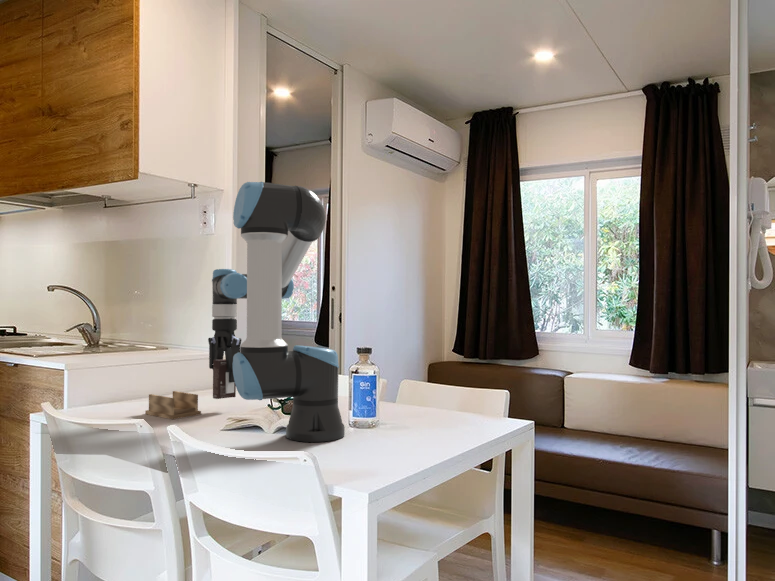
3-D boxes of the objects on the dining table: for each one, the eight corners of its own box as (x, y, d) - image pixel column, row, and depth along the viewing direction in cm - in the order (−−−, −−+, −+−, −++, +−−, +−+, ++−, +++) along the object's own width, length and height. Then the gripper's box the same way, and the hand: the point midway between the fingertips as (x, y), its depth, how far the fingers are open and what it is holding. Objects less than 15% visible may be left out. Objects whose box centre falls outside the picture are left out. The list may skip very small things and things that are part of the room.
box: (219, 399, 184) (219, 360, 184) (212, 398, 187) (212, 359, 188) (237, 397, 188) (236, 359, 189) (229, 396, 191) (229, 358, 192)
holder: (201, 414, 184) (201, 394, 184) (172, 419, 176) (172, 398, 176) (174, 409, 192) (174, 390, 192) (145, 413, 184) (145, 394, 184)
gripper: (252, 317, 186) (252, 393, 185) (216, 318, 197) (216, 389, 196) (233, 318, 180) (233, 395, 179) (197, 318, 191) (196, 391, 190)
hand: (224, 392), depth 188 cm, fingers closed on box, 5 cm apart
